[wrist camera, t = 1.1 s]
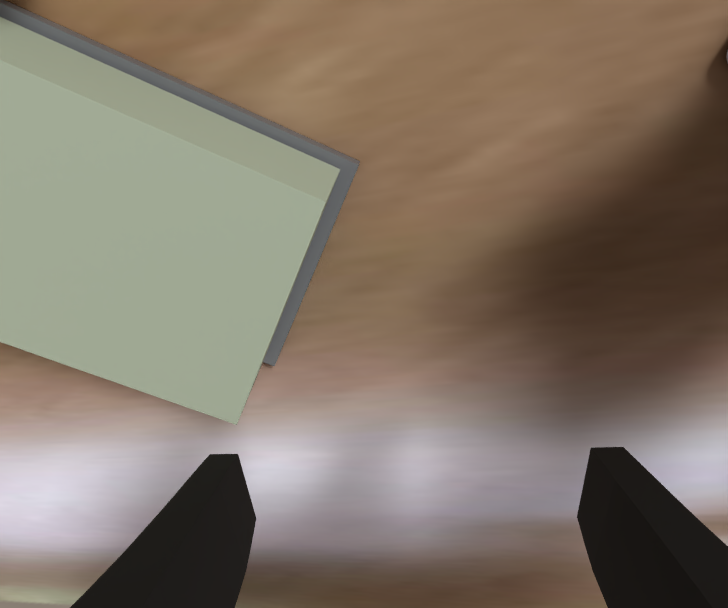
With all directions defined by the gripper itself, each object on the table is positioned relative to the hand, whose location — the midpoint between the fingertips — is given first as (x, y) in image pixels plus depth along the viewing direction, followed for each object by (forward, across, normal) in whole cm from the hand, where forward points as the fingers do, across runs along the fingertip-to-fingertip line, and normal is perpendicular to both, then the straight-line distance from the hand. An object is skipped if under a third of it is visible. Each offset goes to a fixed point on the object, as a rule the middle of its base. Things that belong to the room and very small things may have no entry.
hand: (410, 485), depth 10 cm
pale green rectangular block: (+9, +9, -4) cm, 14 cm away
